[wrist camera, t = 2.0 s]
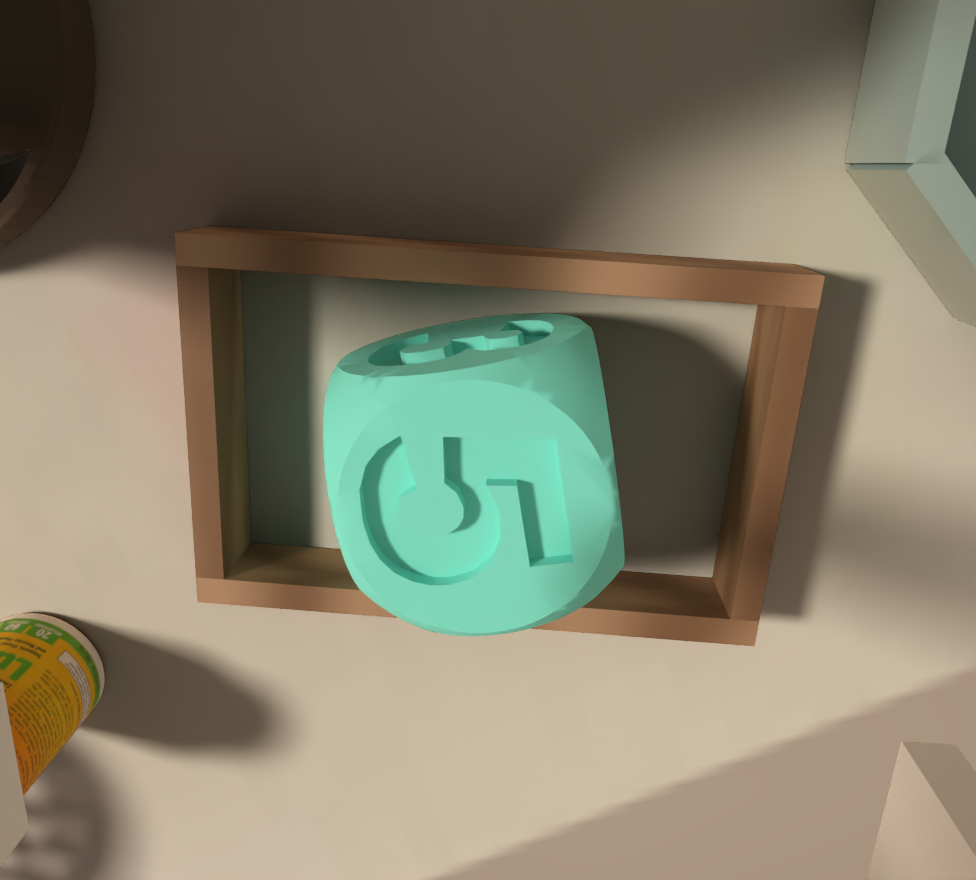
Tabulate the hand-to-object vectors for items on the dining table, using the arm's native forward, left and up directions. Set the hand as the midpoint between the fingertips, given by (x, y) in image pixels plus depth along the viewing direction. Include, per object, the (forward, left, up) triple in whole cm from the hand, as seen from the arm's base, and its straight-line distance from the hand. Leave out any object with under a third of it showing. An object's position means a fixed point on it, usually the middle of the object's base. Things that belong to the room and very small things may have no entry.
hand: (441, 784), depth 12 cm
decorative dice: (0, 0, -19) cm, 19 cm away
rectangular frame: (0, 0, -19) cm, 19 cm away
